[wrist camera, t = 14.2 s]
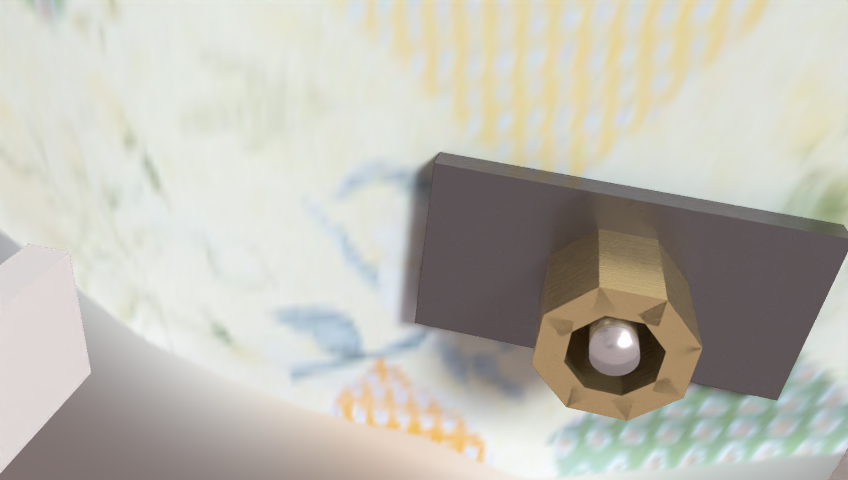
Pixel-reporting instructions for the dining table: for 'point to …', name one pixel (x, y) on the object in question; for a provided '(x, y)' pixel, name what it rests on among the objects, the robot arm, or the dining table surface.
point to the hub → (621, 298)
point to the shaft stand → (635, 215)
